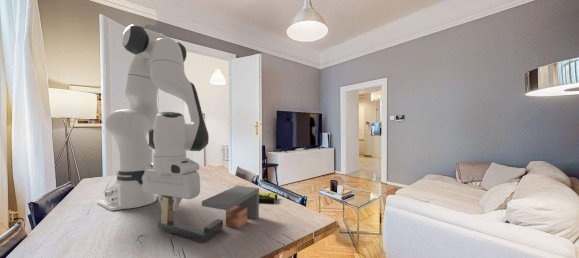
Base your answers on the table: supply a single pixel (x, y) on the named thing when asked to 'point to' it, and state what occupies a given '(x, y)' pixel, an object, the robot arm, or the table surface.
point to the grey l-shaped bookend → (236, 200)
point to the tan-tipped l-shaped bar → (183, 230)
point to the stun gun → (267, 198)
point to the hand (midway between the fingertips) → (170, 209)
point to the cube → (236, 216)
